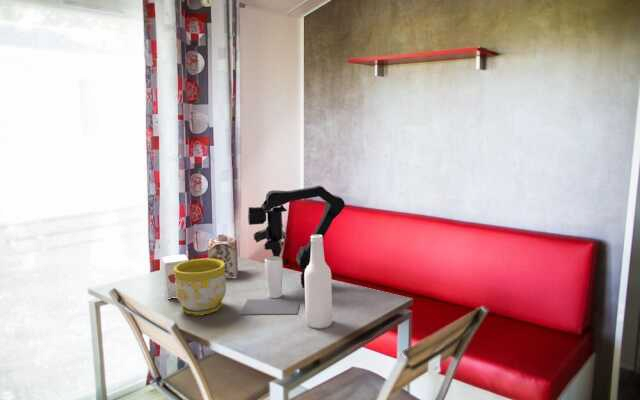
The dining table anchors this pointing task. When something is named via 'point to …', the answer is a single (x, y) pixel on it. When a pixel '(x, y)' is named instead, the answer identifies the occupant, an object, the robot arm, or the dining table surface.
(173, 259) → the supplement box
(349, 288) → the dining table surface
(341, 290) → the dining table surface
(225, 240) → the decorative jar
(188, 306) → the flowerpot
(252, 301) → the mat
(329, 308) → the alcohol
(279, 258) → the drinking glass
